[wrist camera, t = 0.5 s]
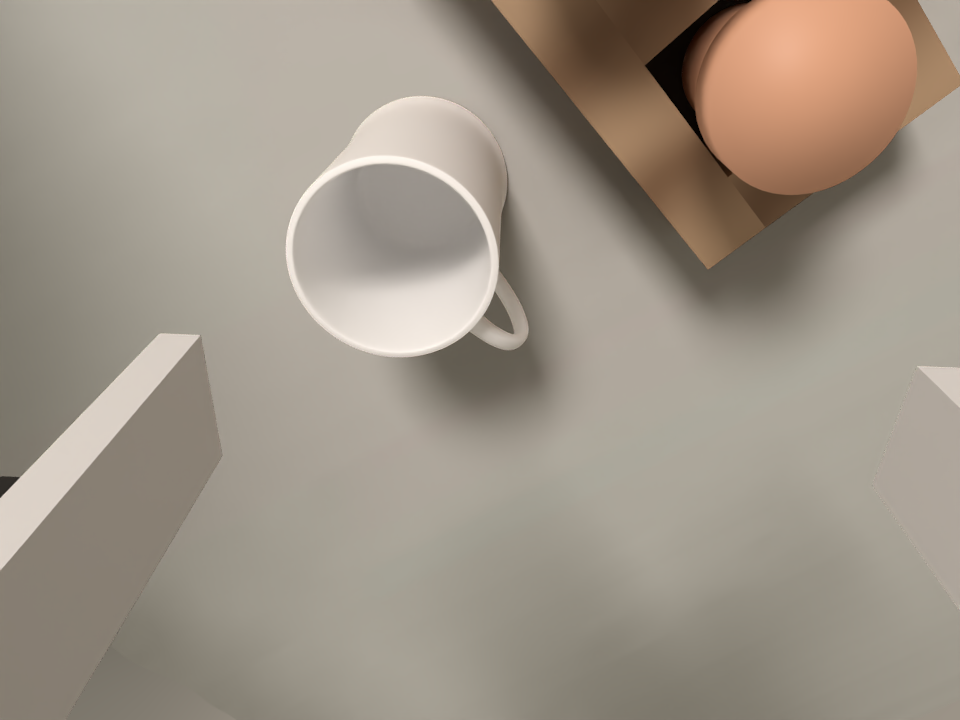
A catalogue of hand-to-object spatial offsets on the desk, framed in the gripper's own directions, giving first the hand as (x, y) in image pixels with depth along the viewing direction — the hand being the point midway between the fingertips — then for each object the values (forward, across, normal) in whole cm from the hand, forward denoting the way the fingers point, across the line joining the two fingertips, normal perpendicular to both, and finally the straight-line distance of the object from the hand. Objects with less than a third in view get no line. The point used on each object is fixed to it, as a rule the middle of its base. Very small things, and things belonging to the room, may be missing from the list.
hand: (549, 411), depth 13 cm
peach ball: (+21, +9, +4) cm, 23 cm away
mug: (+26, -4, -4) cm, 26 cm away
